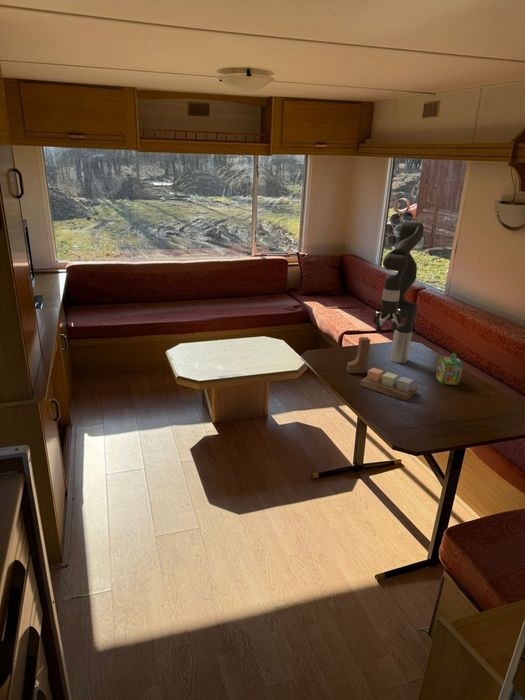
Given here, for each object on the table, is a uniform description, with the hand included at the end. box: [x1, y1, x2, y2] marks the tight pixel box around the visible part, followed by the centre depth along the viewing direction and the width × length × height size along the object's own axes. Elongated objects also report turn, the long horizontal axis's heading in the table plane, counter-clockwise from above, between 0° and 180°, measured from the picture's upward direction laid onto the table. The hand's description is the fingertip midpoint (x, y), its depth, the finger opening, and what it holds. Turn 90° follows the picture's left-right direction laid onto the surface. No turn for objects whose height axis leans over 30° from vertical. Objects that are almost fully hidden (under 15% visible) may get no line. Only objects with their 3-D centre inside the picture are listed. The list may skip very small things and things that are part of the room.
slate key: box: [396, 376, 414, 392], centre depth 230 cm, size 6×6×5 cm
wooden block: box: [346, 336, 371, 374], centre depth 251 cm, size 9×4×18 cm, turn 97°
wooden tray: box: [360, 376, 418, 402], centre depth 235 cm, size 12×23×3 cm, turn 52°
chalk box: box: [434, 352, 464, 386], centre depth 246 cm, size 9×9×15 cm
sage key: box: [381, 371, 399, 387], centre depth 234 cm, size 6×6×5 cm
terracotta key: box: [366, 367, 384, 383], centre depth 238 cm, size 6×6×5 cm
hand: (385, 331), depth 233 cm, fingers open, 8 cm apart
